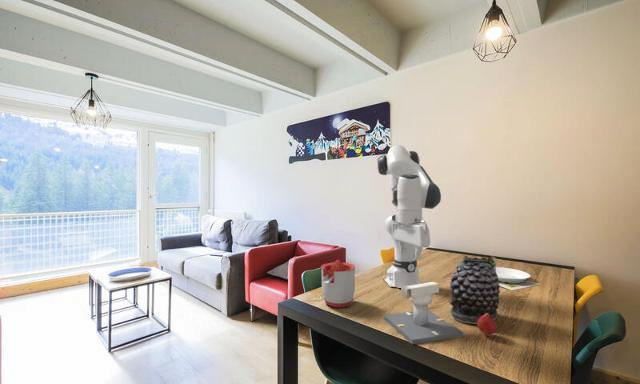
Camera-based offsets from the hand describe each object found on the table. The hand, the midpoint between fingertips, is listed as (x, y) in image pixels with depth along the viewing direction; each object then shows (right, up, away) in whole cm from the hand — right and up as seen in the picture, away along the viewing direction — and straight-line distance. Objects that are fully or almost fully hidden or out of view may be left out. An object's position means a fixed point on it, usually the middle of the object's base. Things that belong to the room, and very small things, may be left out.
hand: (409, 255), depth 107 cm
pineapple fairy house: (+28, -27, +8) cm, 40 cm away
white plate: (+73, -27, +59) cm, 98 cm away
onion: (+25, -27, -7) cm, 37 cm away
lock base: (+4, -27, 0) cm, 27 cm away
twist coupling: (+4, -17, 0) cm, 18 cm away
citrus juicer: (-26, -28, +24) cm, 44 cm away
